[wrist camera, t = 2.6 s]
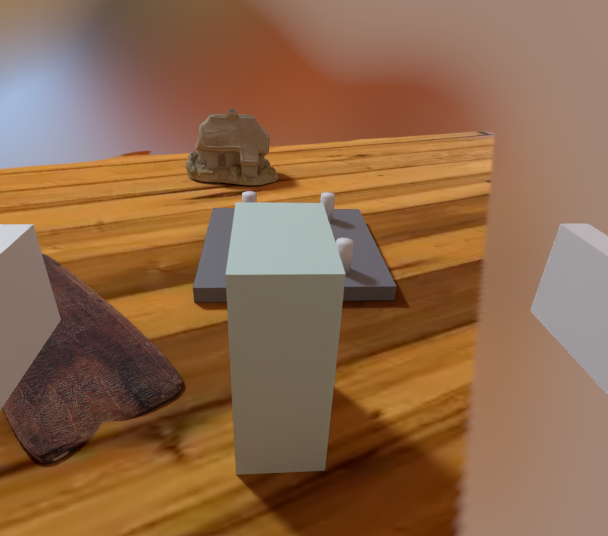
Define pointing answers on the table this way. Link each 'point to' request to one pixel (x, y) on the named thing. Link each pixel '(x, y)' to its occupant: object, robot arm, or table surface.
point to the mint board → (282, 334)
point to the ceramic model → (231, 151)
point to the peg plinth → (341, 227)
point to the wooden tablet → (86, 373)
